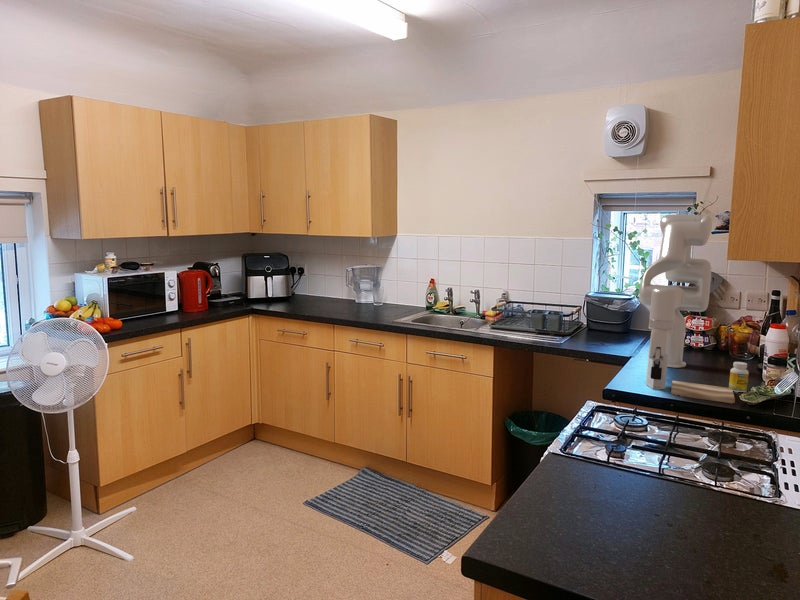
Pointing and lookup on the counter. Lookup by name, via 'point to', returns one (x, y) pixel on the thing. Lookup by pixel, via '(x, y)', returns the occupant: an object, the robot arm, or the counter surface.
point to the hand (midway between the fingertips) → (656, 376)
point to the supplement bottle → (739, 377)
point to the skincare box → (661, 383)
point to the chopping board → (703, 391)
